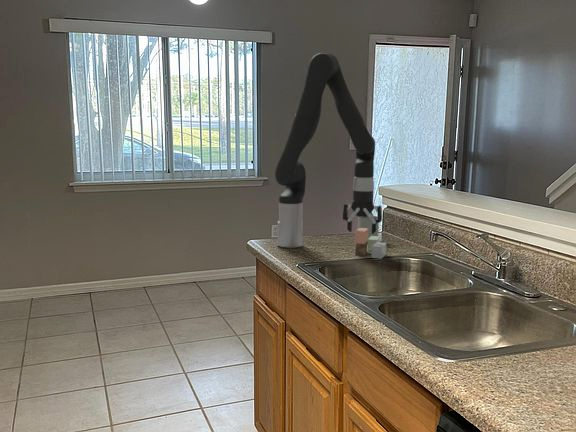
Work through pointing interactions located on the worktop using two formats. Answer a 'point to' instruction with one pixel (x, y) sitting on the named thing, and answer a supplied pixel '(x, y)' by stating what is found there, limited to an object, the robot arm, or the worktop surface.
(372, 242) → the sage brick
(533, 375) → the worktop surface
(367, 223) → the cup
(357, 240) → the terracotta brick
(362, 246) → the walnut brick
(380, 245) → the grey brick
